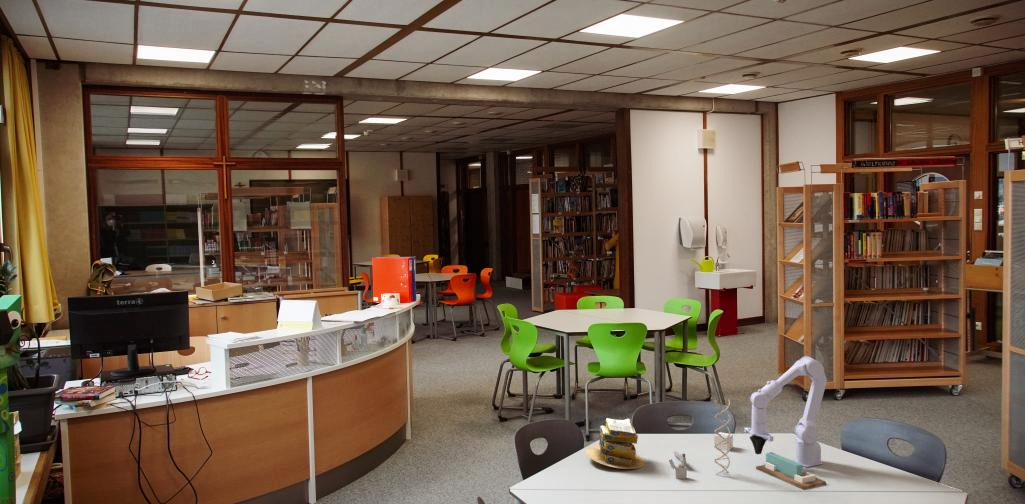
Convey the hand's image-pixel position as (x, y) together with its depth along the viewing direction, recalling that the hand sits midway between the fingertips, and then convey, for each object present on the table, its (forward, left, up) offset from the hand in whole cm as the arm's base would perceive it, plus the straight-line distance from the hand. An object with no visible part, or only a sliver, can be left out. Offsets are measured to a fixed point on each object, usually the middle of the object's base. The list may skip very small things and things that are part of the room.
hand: (758, 453), depth 293 cm
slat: (0, +14, -3) cm, 14 cm away
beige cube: (0, -21, -4) cm, 21 cm away
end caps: (0, +17, -4) cm, 17 cm away
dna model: (+22, +3, -4) cm, 22 cm away
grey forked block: (+41, -1, -4) cm, 41 cm away
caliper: (+28, -16, -4) cm, 33 cm away
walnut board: (0, +17, -4) cm, 17 cm away
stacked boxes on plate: (+52, -28, -4) cm, 59 cm away
